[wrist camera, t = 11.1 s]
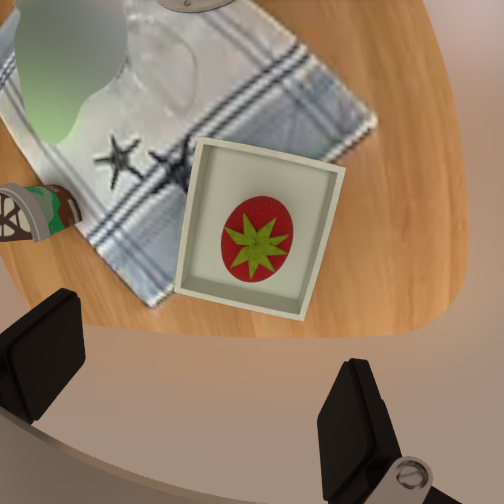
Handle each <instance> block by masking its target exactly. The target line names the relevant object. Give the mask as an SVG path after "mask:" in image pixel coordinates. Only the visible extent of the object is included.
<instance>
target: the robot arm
mask: <svg viewBox="0 0 504 504" xmlns="http://www.w3.org/2000/svg"><path fill="white" fill-rule="evenodd" d="M156 1H157V2H158V3H159V4H161V5H162V6H164V7H166V8H168V9H171V10H174V11H179V12H202V11H206V10H211V9H214V8H217V7H220V6H223V5H225V4H227V3H229V2H231V1H233V0H156ZM189 5H190V6H189ZM84 362H85V347H84V338H83V328H82V316H81V302H80V298H79V297H78V296H77V293H76V292H74V291H71V290H68V289H65V288H61V289H59V290H58V291H56V292H55V293H54V294H52V295H51V296H49V297H48V298H47V299H45V300H44V301H43V302H41V303H40V304H39V305H37V306H36V307H35V308H33V309H32V310H31V311H29V312H28V313H27V314H25V315H24V316H23V317H21V318H20V319H19V320H17V321H16V322H15V323H14V324H12V325H11V326H10V327H9V328H7V329H6V330H5V331H3V332H2V333H1V334H0V504H264V503H256V502H249V501H242V500H236V499H230V498H225V497H220V496H214V495H210V494H205V493H201V492H197V491H192V490H189V489H184V488H181V487H177V486H174V485H170V484H166V483H163V482H159V481H156V480H153V479H150V478H147V477H144V476H141V475H138V474H135V473H132V472H130V471H127V470H124V469H122V468H119V467H116V466H114V465H111V464H109V463H106V462H104V461H101V460H99V459H97V458H94V457H92V456H90V455H88V454H85V453H83V452H81V451H79V450H77V449H75V448H73V447H70V446H68V445H66V444H64V443H63V442H61V441H59V440H57V439H55V438H53V437H51V436H49V435H47V434H45V433H44V432H42V431H40V430H38V429H37V428H35V427H33V426H31V424H32V423H33V421H34V420H35V421H37V420H39V419H40V417H41V416H42V415H43V414H44V412H45V411H46V410H47V409H48V407H49V406H50V405H51V403H52V402H53V401H54V400H55V398H56V397H57V396H58V394H59V393H60V392H61V391H62V390H63V388H64V387H65V386H66V385H67V384H68V382H69V381H70V380H71V379H72V377H73V376H74V375H75V374H76V373H77V371H78V370H79V369H80V368H81V366H82V365H83V364H84ZM317 427H318V439H319V450H320V462H321V474H322V488H323V499H324V500H325V501H328V504H462V503H460V502H458V501H456V500H455V499H453V498H451V497H450V496H448V495H446V494H444V493H443V492H441V491H439V490H438V489H436V488H435V487H433V486H431V485H432V481H433V474H432V472H431V469H430V468H429V466H427V464H426V463H425V462H423V461H422V460H421V459H418V458H416V457H410V456H407V457H402V454H401V451H400V448H399V445H398V441H397V438H396V436H395V432H394V429H393V426H392V423H391V420H390V417H389V414H388V411H387V408H386V405H385V403H384V401H383V400H382V399H381V396H380V393H379V390H378V388H377V385H376V382H375V379H374V376H373V373H372V371H371V368H370V365H369V363H368V361H367V360H362V359H354V358H351V359H350V360H349V361H348V362H346V361H345V362H344V363H343V365H342V367H341V369H340V371H339V373H338V376H337V378H336V380H335V382H334V384H333V386H332V389H331V391H330V393H329V395H328V397H327V399H326V401H325V403H324V405H323V407H322V409H321V411H320V413H319V415H318V419H317Z"/></svg>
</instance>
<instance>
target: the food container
mask: <svg viewBox="0 0 504 504" xmlns="http://www.w3.org/2000/svg"><path fill="white" fill-rule="evenodd" d="M80 221H82V218H81V213H80V210H79V208H78V205H77V203H76V201H75V199H74V198H73V196H72V195H71V194H70V192H69V191H67V190H66V189H65V188H63V187H62V186H59V185H43V186H33V187H22V186H20V185H18V184H14V183H8V184H4V185H2V186H0V242H8V241H17V240H32V239H33V241H34V243H35V242H38V241H41V240H44V239H47V238H50V237H51V236H50V235H52V234H54V233H56V232H58V231H61V230H63V229H65V228H67V227H69V226H71V225H73V224H76V223H78V222H80Z"/></svg>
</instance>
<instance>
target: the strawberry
mask: <svg viewBox="0 0 504 504" xmlns="http://www.w3.org/2000/svg"><path fill="white" fill-rule="evenodd" d="M223 227H224V228H223V231H222V235H221V254H222V259H223V262H224V264H225V266H226V268H227V270H228V271H229V272H230V274H231V275H233V276H234V277H235V278H236V279H239V280H241V281H244V282H248V283H255V282H259V281H263V280H265V279H267V278H269V277H271V276H272V275H273V274H275V273H276V272H277V271H278V270H279V269H280V268H281V266H282V265H283V264H284V262H285V260H286V258H287V256H288V254H289V252H290V249H291V246H292V242H293V223H292V218H291V216H290V214H289V211H288V210H287V209H286V207H285V206H284V205H283V204H282V203H281V202H280V201H278V200H276V199H274V198H272V197H268V196H256V197H253V198H250V199H248V200H246V201H244V202H242V203H241V204H240V205H238V206H237V207H236V208H235V209H234V211H233V212H232V213H231V214H230V216H229V217H228V219H227V221H226V223H225V225H224V226H223Z"/></svg>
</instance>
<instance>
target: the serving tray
mask: <svg viewBox="0 0 504 504" xmlns="http://www.w3.org/2000/svg"><path fill="white" fill-rule="evenodd" d="M345 170H346V168H344V167H340V166H337V165H333V164H329V163H325V162H321V161H318V160H314V159H310V158H305V157H301V156H297V155H293V154H288V153H284V152H279V151H275V150H270V149H266V148H261V147H256V146H251V145H246V144H240V143H235V142H230V141H224V140H218V139H212V138H206V137H200V136H198V140H197V145H196V150H195V155H194V161H193V166H192V172H191V177H190V183H189V189H188V195H187V201H186V207H185V214H184V220H183V227H182V234H181V241H180V248H179V255H178V263H177V271H176V279H175V288H174V292H177V293H180V294H184V295H188V296H192V297H196V298H200V299H205V300H209V301H213V302H217V303H221V304H226V305H230V306H234V307H239V308H243V309H247V310H252V311H257V312H261V313H266V314H270V315H275V316H280V317H285V318H290V319H295V320H300V321H304V318H305V315H306V312H307V309H308V305H309V302H310V299H311V296H312V292H313V289H314V286H315V283H316V279H317V276H318V272H319V269H320V266H321V262H322V259H323V255H324V252H325V248H326V244H327V241H328V237H329V233H330V230H331V226H332V222H333V218H334V215H335V211H336V207H337V203H338V199H339V195H340V191H341V187H342V183H343V179H344V174H345ZM256 196H268V197H272V198H274V199H276V200H278V201H280V202H281V203H282V204H283V205H284V206H285V207H286V209H287V210H288V211H289V214H290V216H291V218H292V223H293V242H292V246H291V249H290V252H289V254H288V256H287V258H286V260H285V262H284V264H283V265H282V266H281V268H280V269H279V270H278V271H277V272H276V273H275V274H273V275H272V276H271V277H269V278H267V279H265V280H263V281H259V282H255V283H248V282H244V281H241V280H239V279H236V278H235V277H234V276H233V275H231V274H230V272H229V271H228V270H227V268H226V266H225V264H224V262H223V259H222V254H221V235H222V231H223V228H224V227H223V226H224V225H225V223H226V221H227V219H228V217H229V216H230V214H231V213H232V212H233V211H234V209H235V208H236V207H237V206H238V205H240V204H241V203H242V202H244V201H246V200H248V199H250V198H253V197H256Z"/></svg>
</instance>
